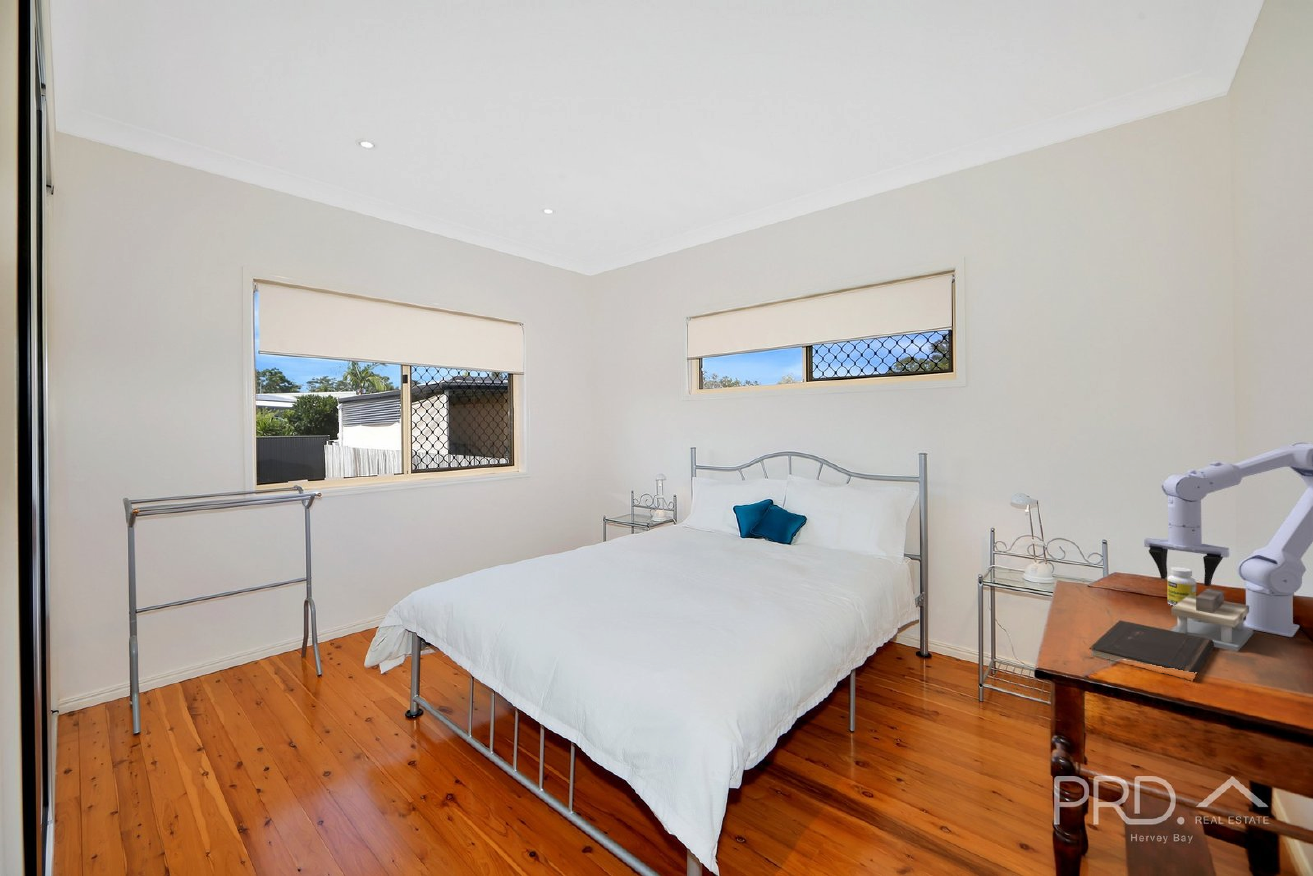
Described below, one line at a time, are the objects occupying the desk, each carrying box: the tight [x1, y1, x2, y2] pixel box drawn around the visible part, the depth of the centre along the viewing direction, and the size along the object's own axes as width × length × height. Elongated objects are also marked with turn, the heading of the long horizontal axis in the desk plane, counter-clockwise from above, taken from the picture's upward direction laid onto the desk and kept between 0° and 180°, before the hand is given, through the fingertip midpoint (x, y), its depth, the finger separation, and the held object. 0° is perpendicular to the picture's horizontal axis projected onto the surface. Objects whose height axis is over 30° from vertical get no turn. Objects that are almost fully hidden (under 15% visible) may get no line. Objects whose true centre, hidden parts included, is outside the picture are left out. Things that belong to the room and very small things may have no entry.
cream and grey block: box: [1170, 587, 1249, 627], centre depth 124 cm, size 14×10×4 cm
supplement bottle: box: [1166, 566, 1197, 607], centre depth 142 cm, size 5×5×10 cm
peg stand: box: [1169, 616, 1254, 652], centre depth 124 cm, size 15×11×5 cm
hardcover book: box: [1089, 620, 1215, 673], centre depth 117 cm, size 16×23×2 cm
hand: (1185, 581), depth 130 cm, fingers open, 7 cm apart
